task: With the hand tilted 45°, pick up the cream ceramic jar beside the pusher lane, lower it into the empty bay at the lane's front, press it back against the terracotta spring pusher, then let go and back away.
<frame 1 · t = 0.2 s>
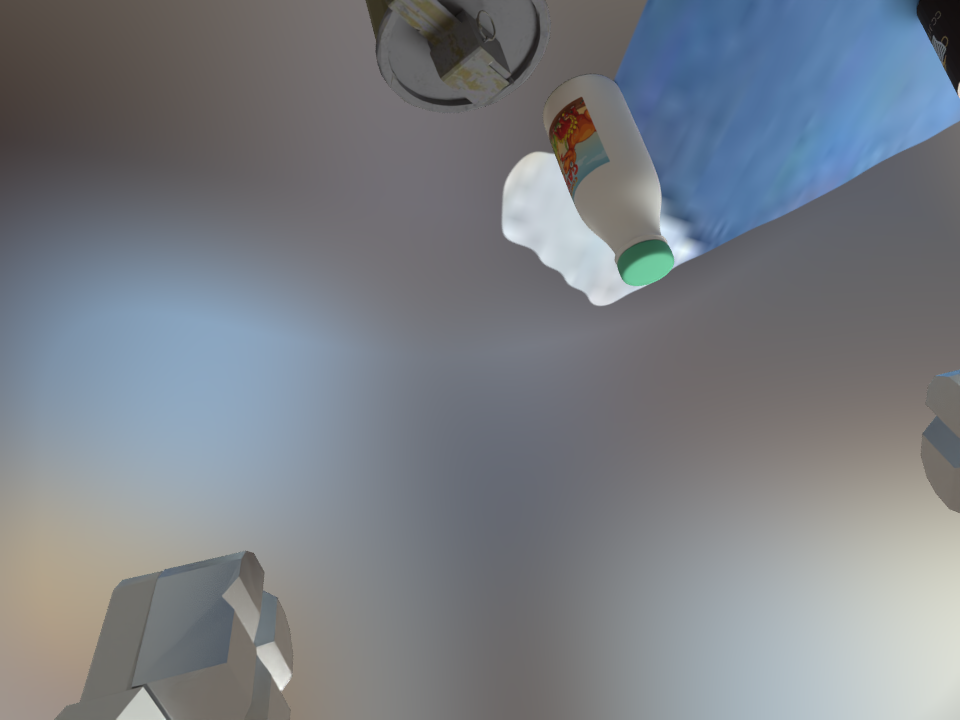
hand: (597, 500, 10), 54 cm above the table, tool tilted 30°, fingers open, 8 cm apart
milk bottle: (579, 102, 80), on the table
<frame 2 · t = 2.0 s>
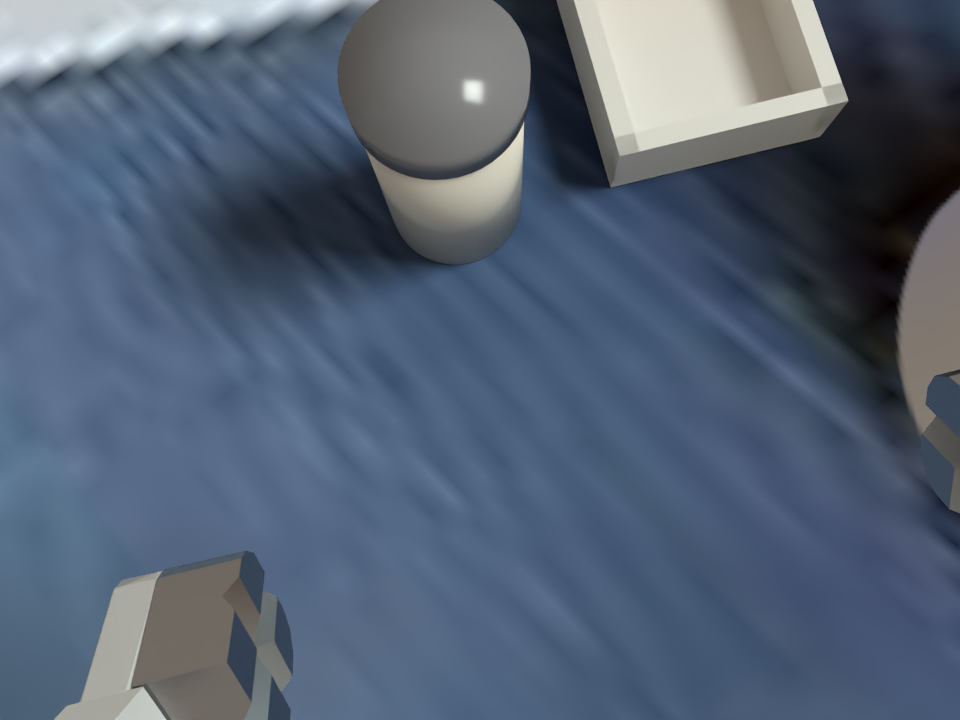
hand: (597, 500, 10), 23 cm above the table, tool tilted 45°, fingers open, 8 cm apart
jar: (456, 202, 36), on the table
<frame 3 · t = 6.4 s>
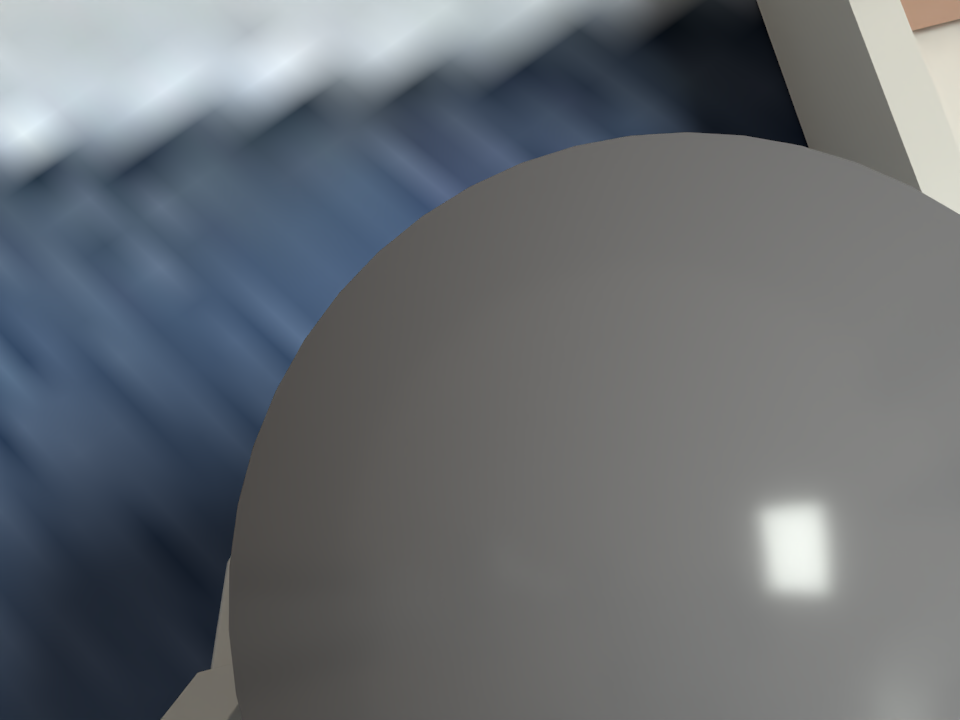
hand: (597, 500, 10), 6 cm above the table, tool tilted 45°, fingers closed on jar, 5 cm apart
jar: (578, 544, 15), on the table, touching gripper
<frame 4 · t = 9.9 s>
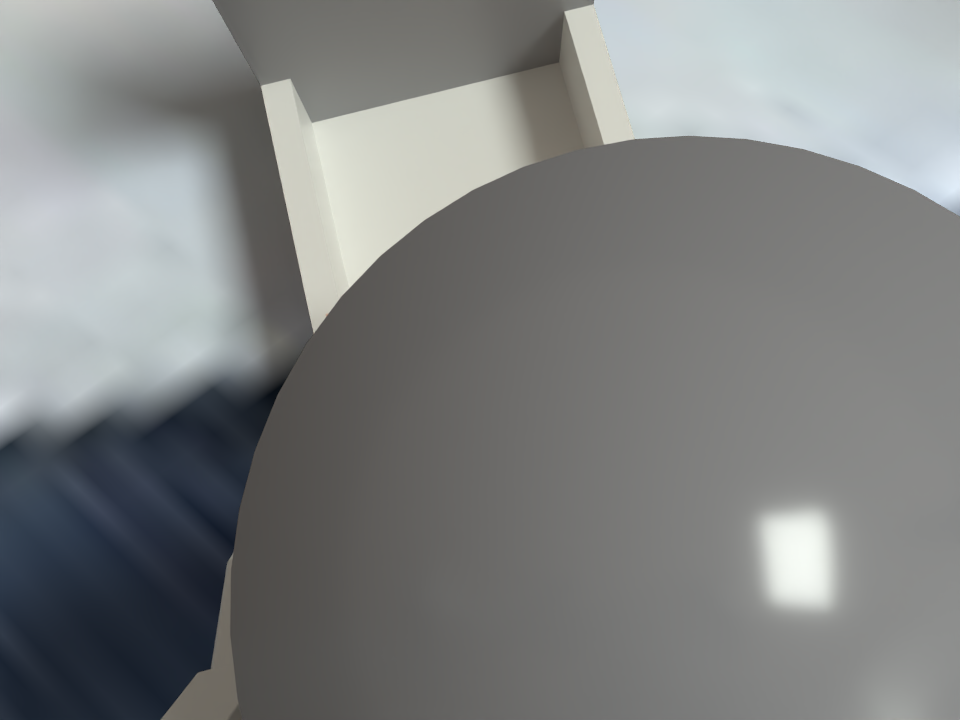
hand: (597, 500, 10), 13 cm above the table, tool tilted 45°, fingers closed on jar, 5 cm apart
pusher lane: (502, 354, 24), on the table
spring pusher: (507, 340, 19), point 4 cm above the table, slide at 0.0 cm
jar: (579, 546, 15), point 7 cm above the table, touching gripper
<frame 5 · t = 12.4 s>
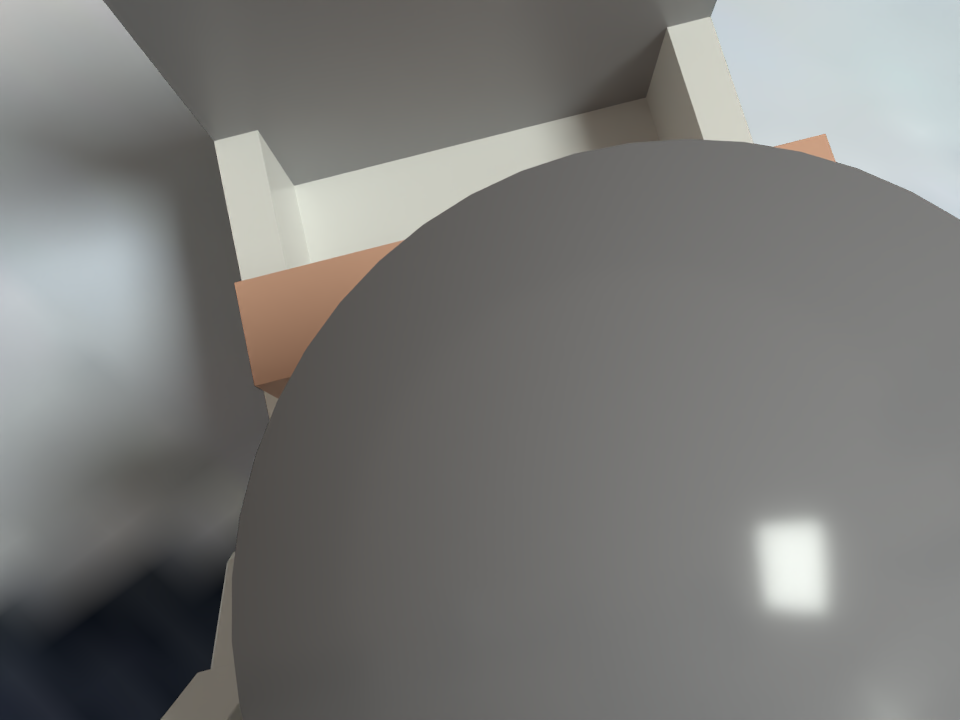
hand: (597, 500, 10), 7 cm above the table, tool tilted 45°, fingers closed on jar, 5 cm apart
pusher lane: (570, 524, 16), on the table
spring pusher: (536, 330, 13), point 4 cm above the table, slide at 3.5 cm, touching jar
jar: (578, 546, 15), point 1 cm above the table, touching gripper, spring pusher
when the fingers open (7 cm above the table, at t = 13.4 s): jar moves 1 cm, resting on pusher lane, spring pusher.
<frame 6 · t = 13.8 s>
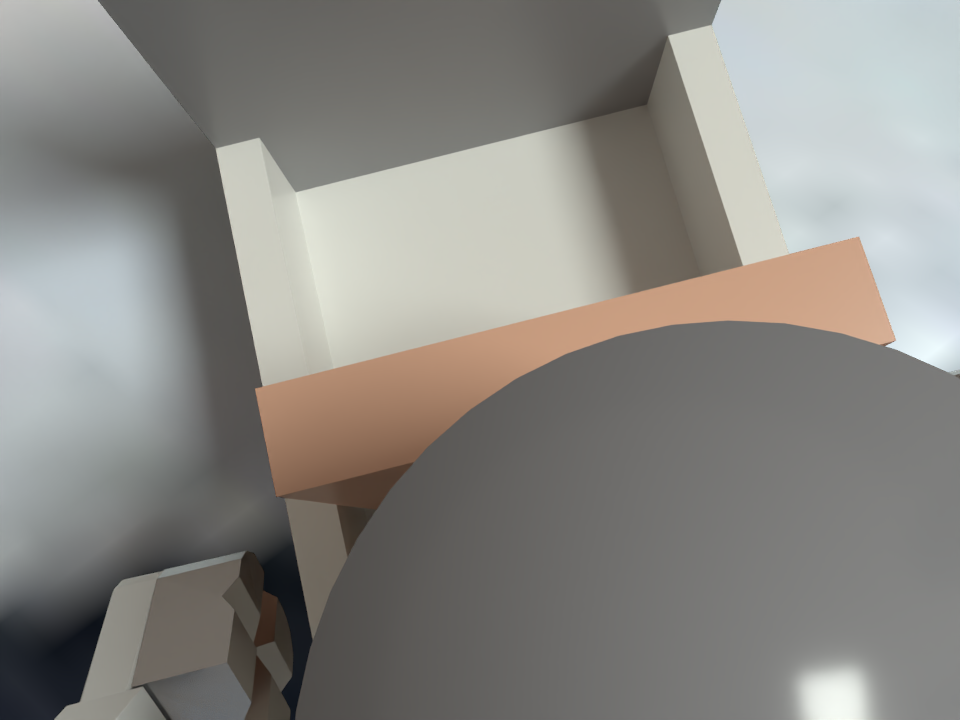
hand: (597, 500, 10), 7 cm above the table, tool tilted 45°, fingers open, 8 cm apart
pusher lane: (570, 531, 16), on the table
spring pusher: (556, 409, 13), point 4 cm above the table, slide at 2.4 cm, touching jar
jar: (596, 611, 16), point 1 cm above the table, touching pusher lane, spring pusher
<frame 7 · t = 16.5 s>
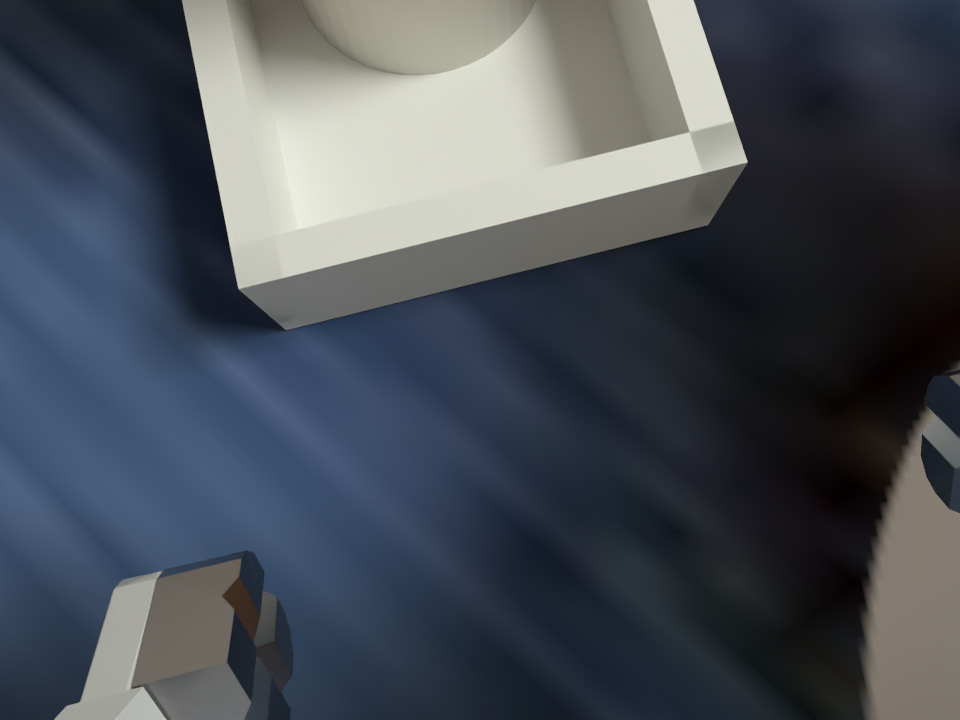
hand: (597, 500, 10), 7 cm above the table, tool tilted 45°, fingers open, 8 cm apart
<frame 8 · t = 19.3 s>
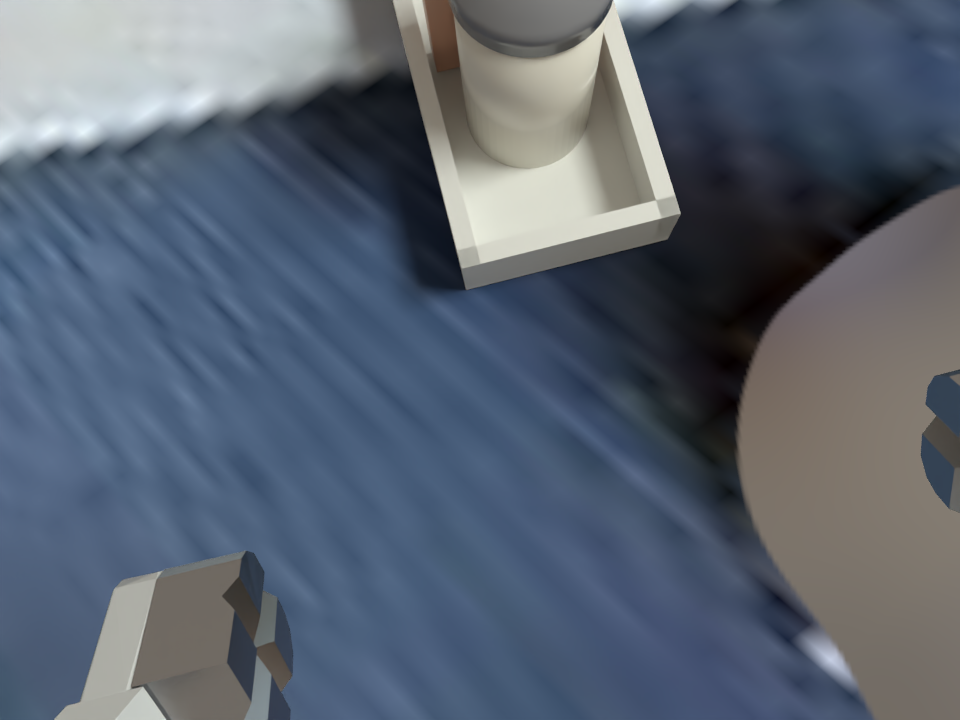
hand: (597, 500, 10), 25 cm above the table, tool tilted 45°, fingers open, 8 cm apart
pusher lane: (510, 64, 39), on the table
jar: (527, 111, 38), point 1 cm above the table, touching pusher lane, spring pusher
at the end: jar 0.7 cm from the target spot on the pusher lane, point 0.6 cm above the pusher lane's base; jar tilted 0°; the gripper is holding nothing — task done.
